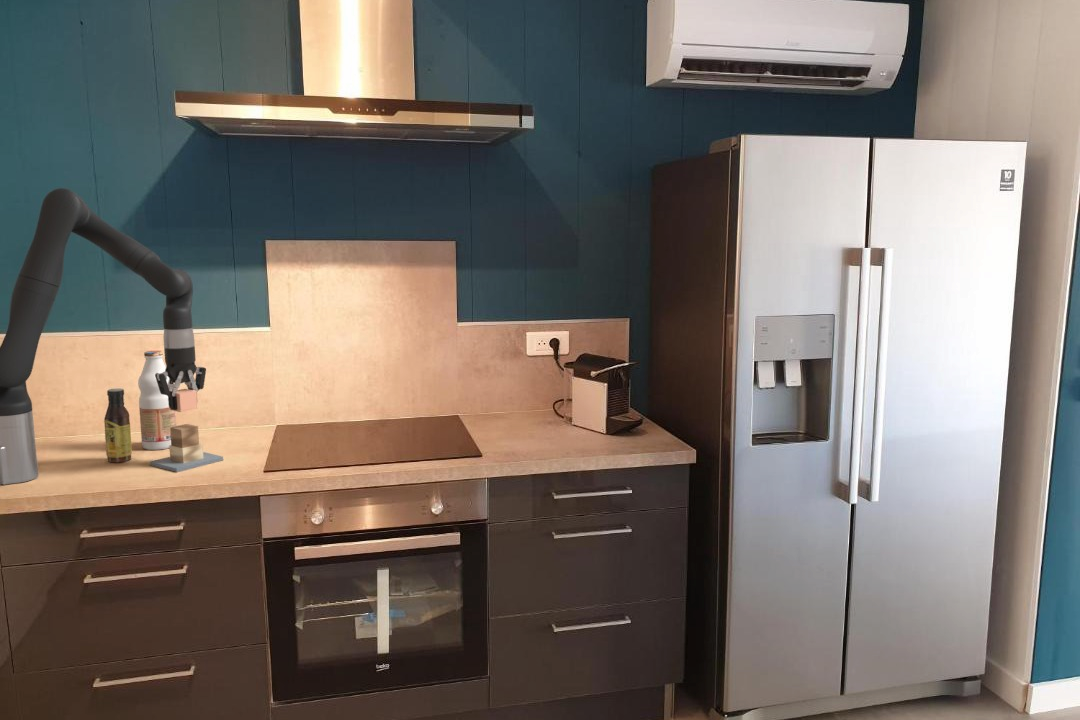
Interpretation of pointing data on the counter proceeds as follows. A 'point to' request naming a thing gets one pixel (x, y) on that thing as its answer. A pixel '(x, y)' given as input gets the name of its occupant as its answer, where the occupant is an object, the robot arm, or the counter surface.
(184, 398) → the terracotta block
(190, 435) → the walnut block
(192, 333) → the robot arm
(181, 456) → the oak plinth
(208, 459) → the board
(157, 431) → the fruit juice
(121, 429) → the sauce bottle
